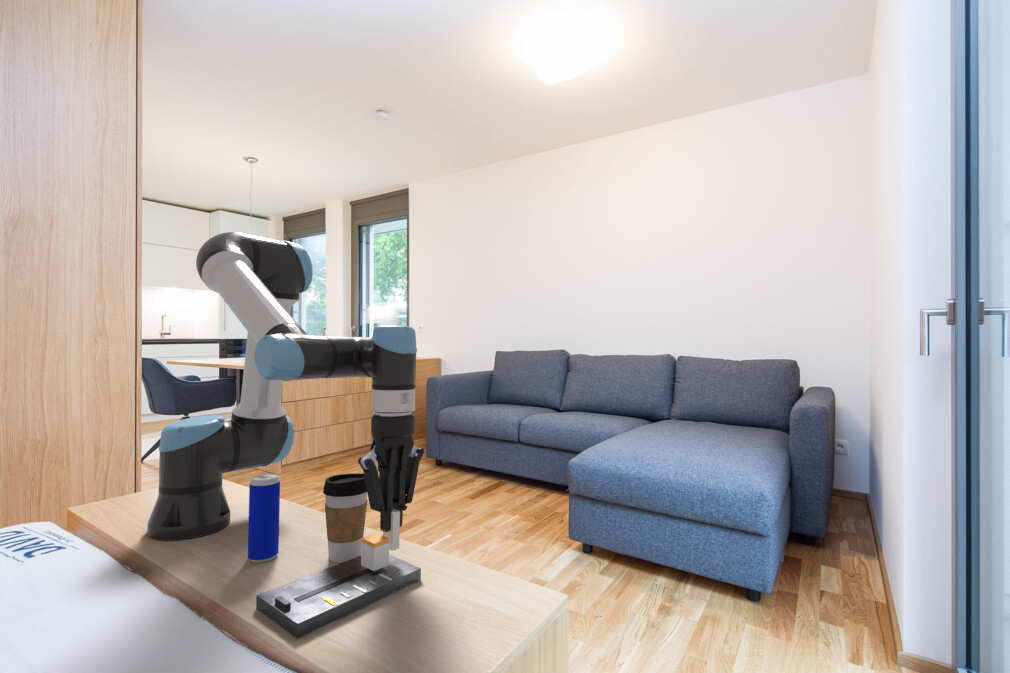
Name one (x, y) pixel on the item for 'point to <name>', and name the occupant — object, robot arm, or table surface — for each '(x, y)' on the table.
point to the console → (333, 594)
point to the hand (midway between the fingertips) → (390, 547)
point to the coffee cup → (345, 515)
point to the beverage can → (263, 517)
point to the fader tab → (375, 551)
